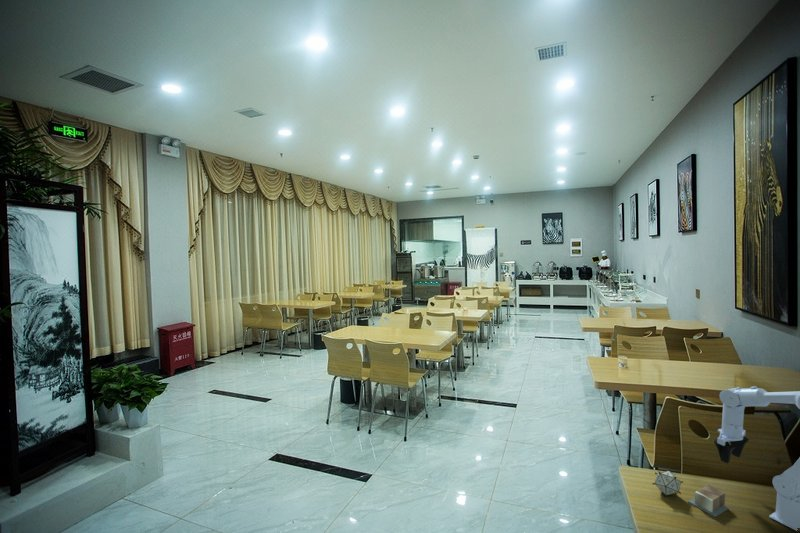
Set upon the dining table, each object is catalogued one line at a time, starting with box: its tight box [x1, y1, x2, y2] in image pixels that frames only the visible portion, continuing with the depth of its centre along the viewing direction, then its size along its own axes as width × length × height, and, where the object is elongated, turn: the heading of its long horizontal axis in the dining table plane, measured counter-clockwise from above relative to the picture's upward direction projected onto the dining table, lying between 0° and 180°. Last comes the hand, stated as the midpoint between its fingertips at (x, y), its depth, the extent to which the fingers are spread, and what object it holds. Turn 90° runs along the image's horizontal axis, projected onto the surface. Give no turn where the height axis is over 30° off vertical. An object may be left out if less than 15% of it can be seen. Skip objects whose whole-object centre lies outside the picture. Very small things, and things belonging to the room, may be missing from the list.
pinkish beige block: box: [694, 484, 726, 512], centre depth 134 cm, size 5×4×8 cm
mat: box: [688, 497, 729, 518], centre depth 134 cm, size 8×8×1 cm
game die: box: [651, 467, 684, 499], centre depth 140 cm, size 9×8×10 cm
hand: (730, 458), depth 143 cm, fingers open, 7 cm apart
